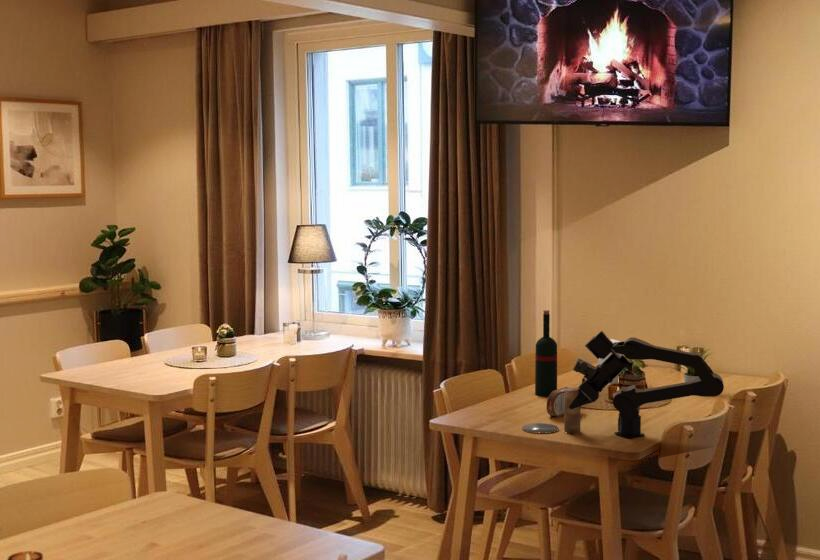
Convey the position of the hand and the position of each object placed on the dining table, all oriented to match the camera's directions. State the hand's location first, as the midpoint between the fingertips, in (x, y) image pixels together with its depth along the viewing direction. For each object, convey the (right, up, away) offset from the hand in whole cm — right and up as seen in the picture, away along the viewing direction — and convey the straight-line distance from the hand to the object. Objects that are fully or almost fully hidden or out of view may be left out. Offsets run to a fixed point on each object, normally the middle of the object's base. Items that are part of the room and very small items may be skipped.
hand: (571, 404), depth 312 cm
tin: (+1, -6, +24) cm, 25 cm away
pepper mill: (0, -8, +1) cm, 8 cm away
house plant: (+54, -2, +56) cm, 78 cm away
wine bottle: (0, -3, +55) cm, 55 cm away
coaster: (-9, -8, +5) cm, 13 cm away
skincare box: (+26, -1, +75) cm, 79 cm away
